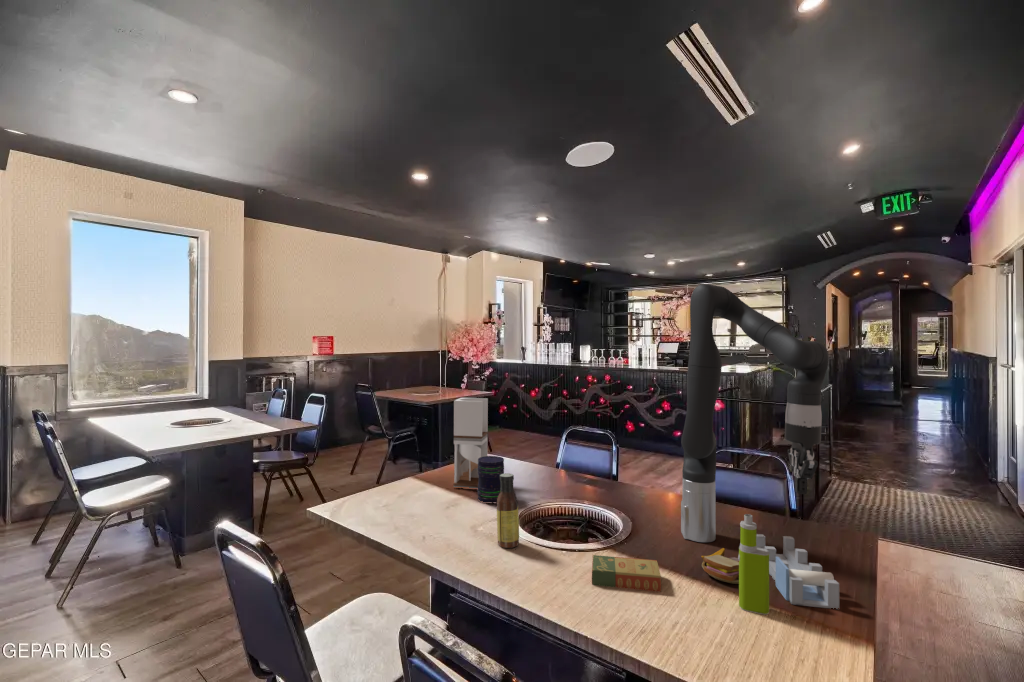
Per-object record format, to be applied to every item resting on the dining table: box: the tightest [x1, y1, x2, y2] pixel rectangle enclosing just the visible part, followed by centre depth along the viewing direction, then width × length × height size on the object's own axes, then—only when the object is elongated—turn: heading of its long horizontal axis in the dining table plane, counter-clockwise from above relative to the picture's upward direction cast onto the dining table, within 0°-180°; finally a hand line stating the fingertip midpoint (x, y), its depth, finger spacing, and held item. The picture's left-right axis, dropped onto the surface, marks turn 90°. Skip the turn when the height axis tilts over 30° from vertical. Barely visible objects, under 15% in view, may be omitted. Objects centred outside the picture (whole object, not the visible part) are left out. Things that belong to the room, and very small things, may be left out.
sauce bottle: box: [496, 472, 520, 549], centre depth 133 cm, size 6×6×20 cm
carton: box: [591, 554, 662, 593], centre depth 113 cm, size 8×16×4 cm, turn 79°
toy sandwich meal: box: [701, 547, 739, 585], centre depth 117 cm, size 12×14×5 cm
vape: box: [737, 513, 770, 615], centre depth 102 cm, size 4×6×20 cm, turn 67°
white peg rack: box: [756, 533, 840, 610], centre depth 115 cm, size 10×26×7 cm, turn 169°
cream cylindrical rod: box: [789, 569, 835, 587], centre depth 107 cm, size 10×3×3 cm, turn 79°
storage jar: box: [477, 455, 505, 502], centre depth 172 cm, size 10×10×15 cm
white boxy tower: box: [452, 397, 489, 488], centre depth 190 cm, size 11×11×35 cm
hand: (800, 493), depth 114 cm, fingers closed
